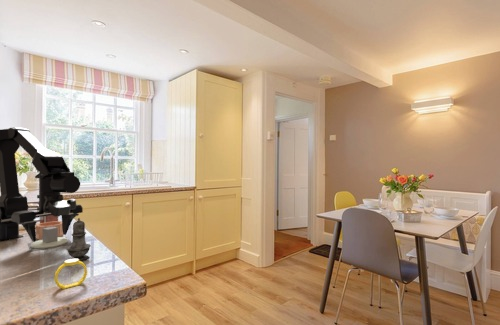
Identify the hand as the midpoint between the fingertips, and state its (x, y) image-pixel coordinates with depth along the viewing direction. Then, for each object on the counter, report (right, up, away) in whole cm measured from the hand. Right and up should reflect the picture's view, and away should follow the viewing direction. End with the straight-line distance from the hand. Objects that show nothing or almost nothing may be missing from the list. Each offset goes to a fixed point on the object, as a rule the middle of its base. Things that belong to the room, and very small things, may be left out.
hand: (50, 238), depth 88 cm
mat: (0, -2, 0) cm, 2 cm away
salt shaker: (+18, -3, -13) cm, 22 cm away
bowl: (-7, -2, +9) cm, 11 cm away
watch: (+27, -3, -29) cm, 40 cm away
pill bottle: (-17, -2, +22) cm, 28 cm away
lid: (0, -2, 0) cm, 2 cm away
